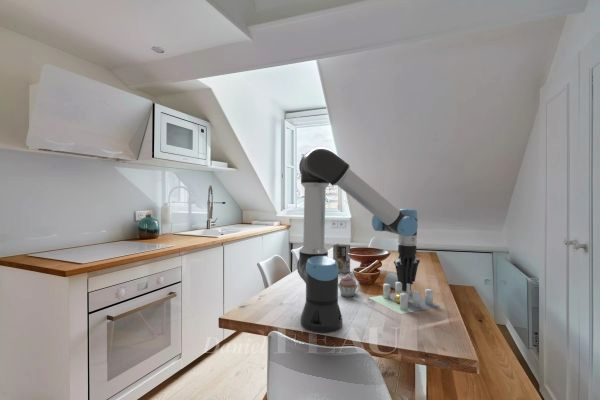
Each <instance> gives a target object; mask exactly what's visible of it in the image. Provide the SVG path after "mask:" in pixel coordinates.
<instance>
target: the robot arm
mask: <svg viewBox="0 0 600 400" xmlns="http://www.w3.org/2000/svg"><path fill="white" fill-rule="evenodd" d="M298 165H299V166H298V167H299V168H298V169H299V172H300V184H301V186H302V187H303V188H304V195H303V196H304V199H303V206H304V207H303V241H302V243H303V246H302V247H301V248H300V249H299V255H298V257H299V258H298V260H297V262H296V263H297V264H296V265H297V266H296V268H297V273H298V275H299V276H300V278H301V279H302V281H304V284H305V303H304V306H303V309H302V312H301V315H300V324H301V326H302V327H303V328H304V329H306V330H309V331H312V332H315V333H331V332H336V331H339V330H340V329H341V328H343V316H342V313H341V309H340V306H339V302H338V301H339V286H338V283H339V273H340V272H339V269H338V263H337V261H336V260H334V259H333V257H329V256H328V255H329V251H328V249H327V248H326V247H325V233H326V232H325V228H326V227H325V225H326V220H325V219H326V189H327V187H328V186H330V185H332V186H337V187H338V188H339V189H341V190H342V191H343V192H345V193H346V194H347V195H348V196H350V197H351V198H352V199H353V200H354V201H355V202H357V203H358V204H360V205H361V206H362V207H363V208H364V209H366V210H367V211H368V212H370V213H371V214H372V215H373V216H372V219H371V226H372V229H373V230H374V231H377V232H388V233H392V234H396V235H398V240H397V243H398V246H397V252H398V255H399V256H398V258H397V260H394V261H393V264H394V266H395V271H396V274H397V277H398V282H400V283H402V292H403V293H406V294H408V299H410V290H411V291H412V285H413V284H414V282H415V281H416V277H417V273H418V267H419V265H420V259H418V258H417V256H416V255H417V247H418V246H417V241H418V240H417V238H418V235H417V234H418V227H419V225H418V220H419V219H418V211H417V210H416V209H414V208H400V209H398V208H397V207H396V206H395V205H394V204H393V203H392V202H390V201H389V200H388V199H386V198H385V197H384V196H383V195H381V194H380V193H379V192H378V191H377V190H375V189H374V188H373V187H372V186H371V185H370V184H369V183H367V182H366V181H365V180H363V179H362V178H361V177H360V176H359V175H358V174H356V173H355V172H354V171H353V170H351V168H350V167H351V165H350V164H349V163H347V162H346V161H345V160H344V159H343V158H342V157H341V156H339V155H338V154H336V153H335V152H334V151H333V150H331V149H329V148H325V147H316V148H313V149H312V150H311V151H309V152H306V153H305V154H304V155H303V156H302V157H301V160H300V161H299V164H298Z"/></svg>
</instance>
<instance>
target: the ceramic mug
mask: <svg viewBox="0 0 600 400" xmlns="http://www.w3.org/2000/svg"><path fill="white" fill-rule="evenodd" d="M385 276H386V277H385V279H384V284H390V289H393V290H395V284H396V282H398V277H397V273H394V272H389V273H387V275H385Z"/></svg>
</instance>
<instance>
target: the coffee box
mask: <svg viewBox="0 0 600 400" xmlns="http://www.w3.org/2000/svg"><path fill="white" fill-rule="evenodd" d="M348 253H350V254H351V245H350V244H344V243H343V244H342V243H336V244H334V245H332V258H333V259H334V260H336V261H337V263H338V269H339V273H343V274H348V273H350V272H351V257H350V258H349V257H348V256H347V254H348ZM349 271H350V272H349ZM347 272H348V273H347Z"/></svg>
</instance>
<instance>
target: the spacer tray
mask: <svg viewBox="0 0 600 400" xmlns="http://www.w3.org/2000/svg"><path fill="white" fill-rule="evenodd" d="M382 289H383V291H382V292H383V293H382V295H376V296H370V297H368V299H370V300H372V301H374V302H376V303H377V304H379V305H381V306H383V307H385V308H387V309H389V310H391V311H392V312H395V313H397V314H399V315H404V314H408V313H409V314H411V313H413V312H419V311H423V310H427V309H433V308H438V307H441V305H440V304H437V303H435V302H434V300H433V299H434V290H433V289H430V288H425V290H424V294H425V296H424V298H423V297H422V293H421V291H418V290H413V291H412V289H411V290H410V299H408V294H406V293H403V291H402V283H400V282H396V284H395V289H394V290H395V292H394V293H391V288H390V284H385V283H383V287H382ZM396 293H400V304H398V303H395V294H396Z"/></svg>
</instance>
